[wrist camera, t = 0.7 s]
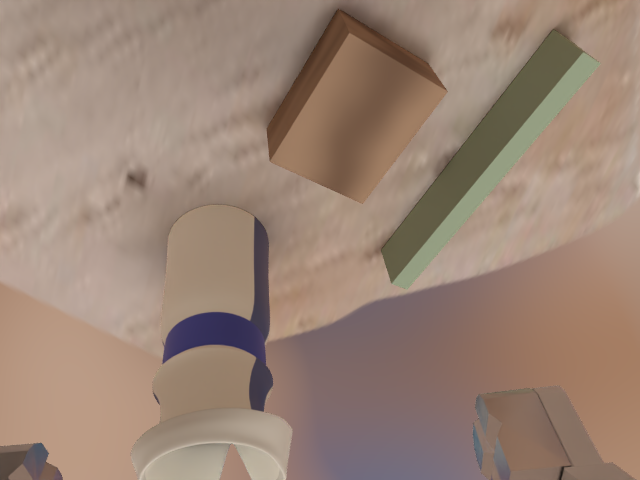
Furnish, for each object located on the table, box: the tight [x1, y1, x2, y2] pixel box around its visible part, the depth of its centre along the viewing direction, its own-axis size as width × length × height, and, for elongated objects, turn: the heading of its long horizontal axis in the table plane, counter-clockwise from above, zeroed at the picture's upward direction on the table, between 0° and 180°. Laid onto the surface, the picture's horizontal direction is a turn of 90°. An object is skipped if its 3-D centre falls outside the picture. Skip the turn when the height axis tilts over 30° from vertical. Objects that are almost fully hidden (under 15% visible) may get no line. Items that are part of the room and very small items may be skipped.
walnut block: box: [267, 9, 448, 204], centre depth 36 cm, size 7×9×4 cm
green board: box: [381, 29, 600, 289], centre depth 40 cm, size 2×20×4 cm, turn 150°
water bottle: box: [131, 205, 293, 480], centre depth 34 cm, size 8×9×25 cm
